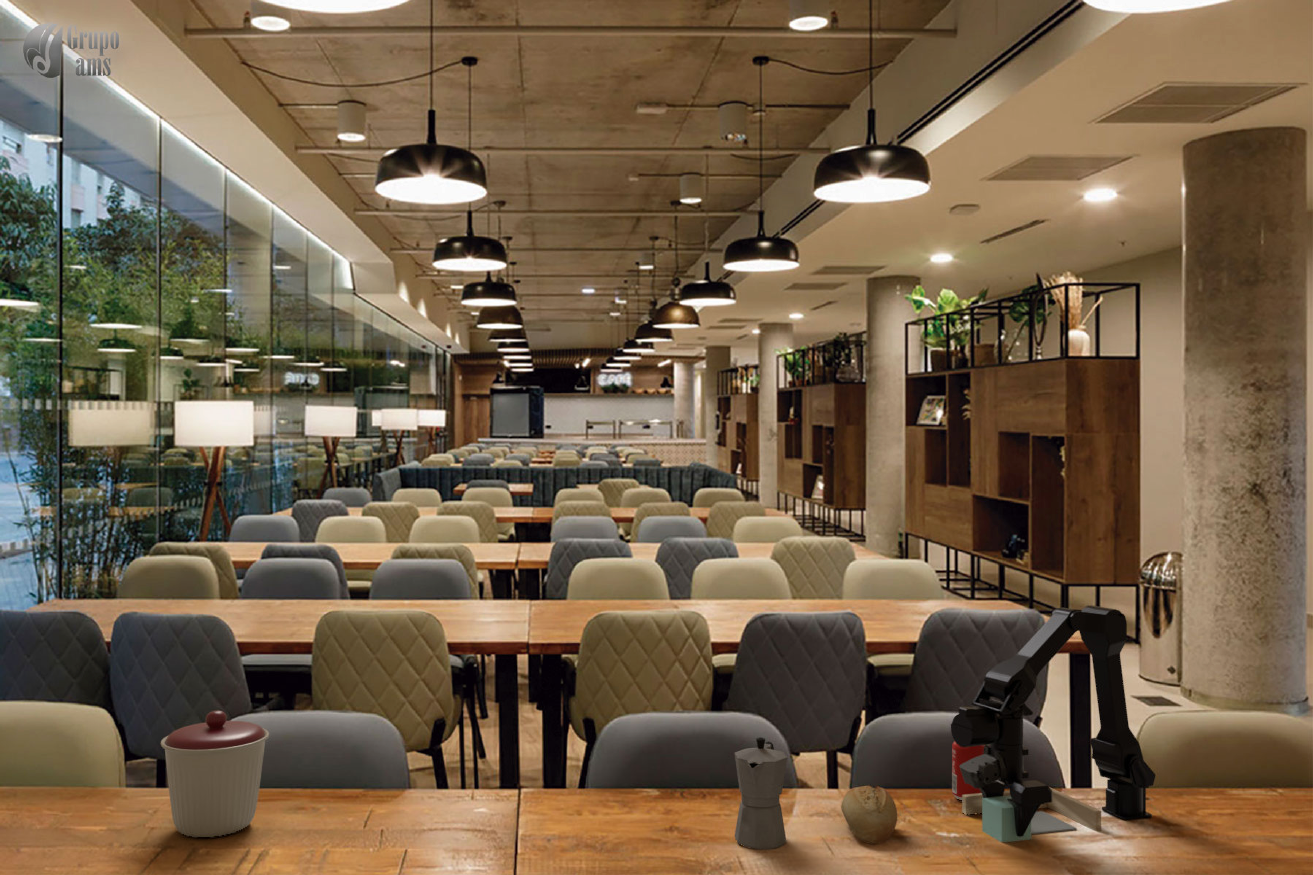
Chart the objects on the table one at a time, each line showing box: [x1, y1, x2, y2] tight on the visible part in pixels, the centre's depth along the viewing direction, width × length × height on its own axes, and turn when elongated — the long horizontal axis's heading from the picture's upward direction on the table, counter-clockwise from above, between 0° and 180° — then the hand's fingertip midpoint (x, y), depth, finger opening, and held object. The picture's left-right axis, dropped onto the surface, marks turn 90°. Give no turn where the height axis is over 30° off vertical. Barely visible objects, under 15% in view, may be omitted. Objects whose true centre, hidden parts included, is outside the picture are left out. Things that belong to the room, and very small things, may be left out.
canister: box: [160, 710, 270, 838], centre depth 196 cm, size 18×18×21 cm
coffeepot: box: [734, 737, 788, 850], centre depth 193 cm, size 15×9×18 cm, turn 162°
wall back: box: [1047, 786, 1102, 832], centre depth 205 cm, size 1×15×4 cm, turn 16°
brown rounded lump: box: [840, 785, 898, 845], centre depth 197 cm, size 10×15×8 cm, turn 2°
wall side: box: [961, 790, 1048, 816], centre depth 209 cm, size 18×1×4 cm, turn 106°
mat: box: [1031, 810, 1077, 836], centre depth 202 cm, size 10×10×1 cm
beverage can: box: [951, 740, 985, 800], centre depth 216 cm, size 6×6×12 cm
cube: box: [981, 796, 1032, 843], centre depth 195 cm, size 6×6×6 cm
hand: (1006, 828), depth 195 cm, fingers open, 8 cm apart
